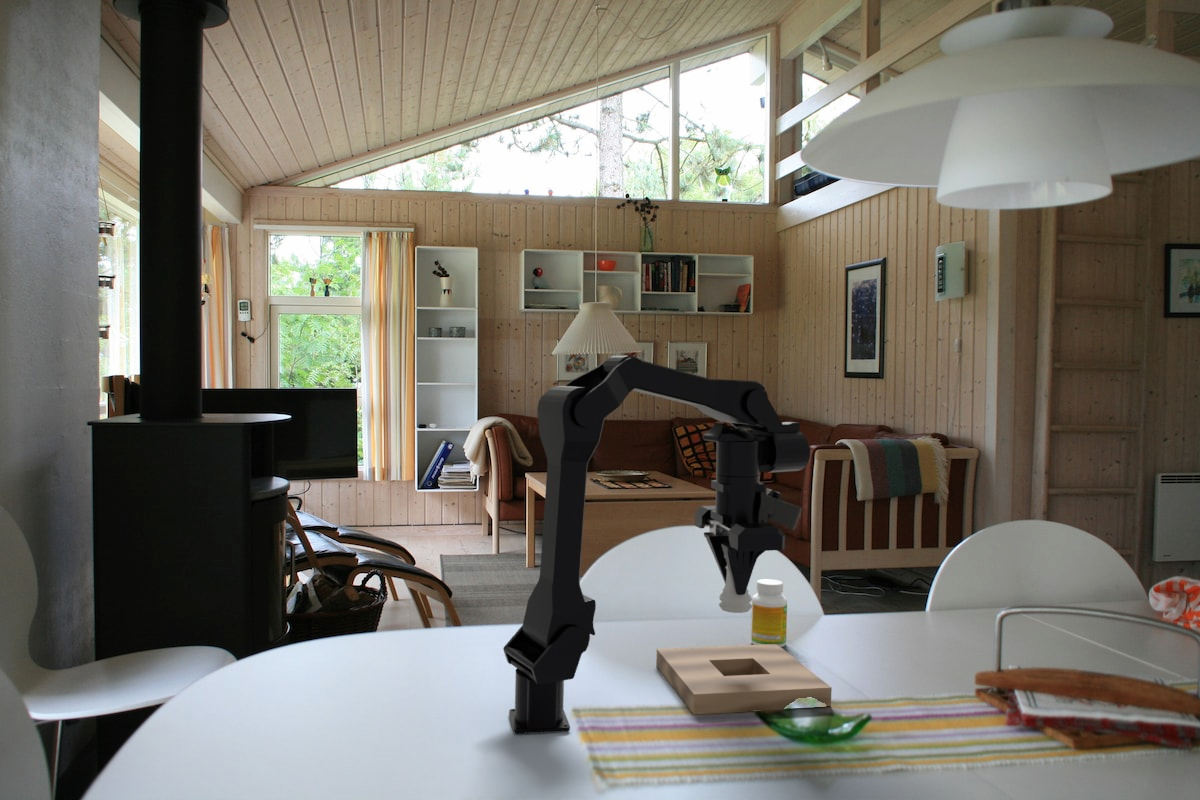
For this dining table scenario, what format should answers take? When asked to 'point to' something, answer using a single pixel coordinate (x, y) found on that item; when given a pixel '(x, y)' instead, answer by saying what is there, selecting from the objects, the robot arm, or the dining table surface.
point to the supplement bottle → (769, 614)
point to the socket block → (739, 678)
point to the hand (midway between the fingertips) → (735, 590)
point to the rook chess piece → (734, 598)
